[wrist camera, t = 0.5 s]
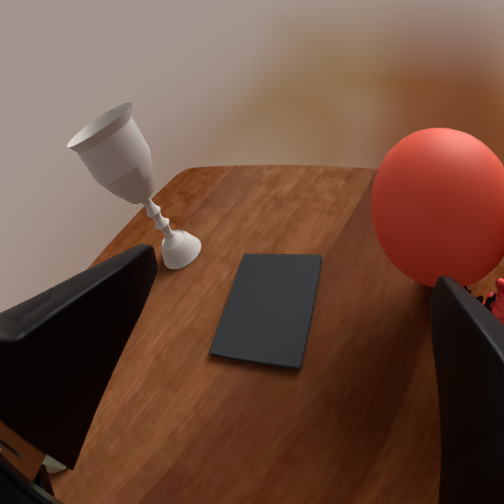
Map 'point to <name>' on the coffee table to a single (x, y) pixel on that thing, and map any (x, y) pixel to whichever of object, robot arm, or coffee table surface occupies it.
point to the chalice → (130, 175)
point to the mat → (269, 310)
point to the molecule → (442, 210)
